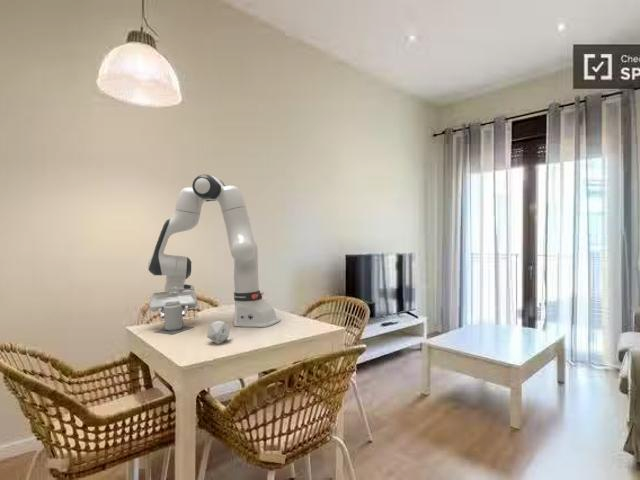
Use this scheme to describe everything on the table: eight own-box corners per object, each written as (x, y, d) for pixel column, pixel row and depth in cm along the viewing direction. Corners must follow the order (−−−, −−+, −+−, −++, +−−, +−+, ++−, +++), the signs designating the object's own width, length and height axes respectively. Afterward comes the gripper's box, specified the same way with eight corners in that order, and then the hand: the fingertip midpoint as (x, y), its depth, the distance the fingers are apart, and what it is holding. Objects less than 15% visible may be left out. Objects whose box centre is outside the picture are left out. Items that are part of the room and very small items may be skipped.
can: (176, 331, 155) (175, 304, 155) (161, 331, 157) (159, 304, 156) (186, 326, 162) (184, 300, 162) (171, 326, 164) (170, 300, 164)
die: (204, 348, 134) (215, 328, 131) (201, 331, 140) (212, 313, 138) (224, 350, 138) (236, 332, 136) (221, 335, 145) (232, 317, 142)
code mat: (194, 327, 162) (194, 326, 162) (172, 334, 151) (172, 334, 151) (175, 325, 168) (175, 324, 168) (153, 332, 157) (153, 331, 157)
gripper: (149, 289, 163) (146, 315, 154) (196, 285, 168) (196, 310, 159) (152, 297, 167) (148, 323, 158) (198, 293, 173) (197, 318, 163)
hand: (173, 316), depth 159 cm, fingers closed on can, 7 cm apart
